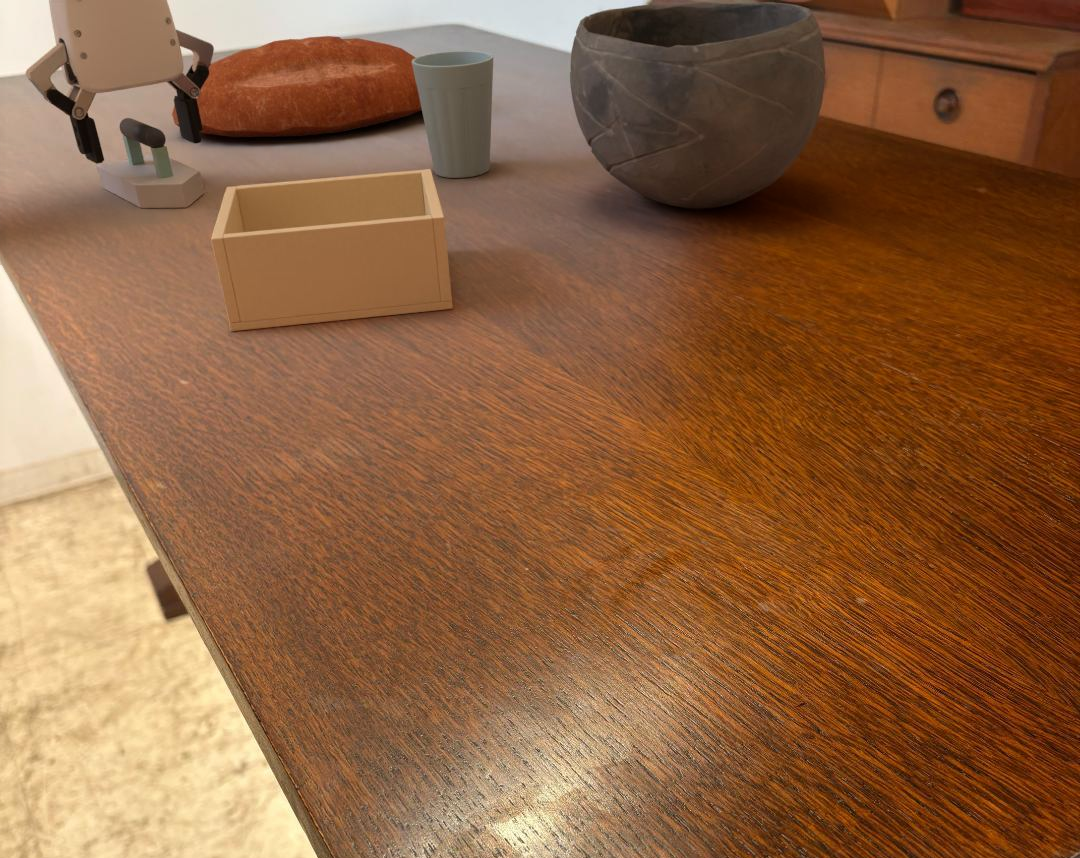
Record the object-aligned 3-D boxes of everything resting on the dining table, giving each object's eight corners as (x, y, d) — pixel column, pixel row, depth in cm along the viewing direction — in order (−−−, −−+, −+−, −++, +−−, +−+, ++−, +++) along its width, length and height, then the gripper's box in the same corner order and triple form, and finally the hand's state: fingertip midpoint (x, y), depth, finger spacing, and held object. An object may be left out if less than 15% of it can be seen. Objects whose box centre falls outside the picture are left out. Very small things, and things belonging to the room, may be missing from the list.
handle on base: (101, 187, 108) (83, 119, 105) (163, 174, 112) (147, 108, 108) (153, 215, 100) (136, 142, 96) (218, 200, 103) (203, 128, 99)
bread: (469, 123, 125) (462, 39, 120) (185, 160, 116) (165, 71, 111) (419, 87, 142) (412, 13, 137) (170, 117, 134) (152, 39, 129)
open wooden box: (230, 331, 76) (210, 238, 72) (243, 270, 86) (226, 186, 82) (452, 309, 77) (444, 217, 74) (438, 251, 88) (430, 168, 84)
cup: (426, 162, 111) (415, 52, 105) (501, 158, 111) (494, 48, 105) (419, 183, 105) (407, 67, 99) (499, 179, 105) (491, 63, 99)
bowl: (561, 175, 105) (555, 3, 96) (776, 160, 106) (789, -11, 97) (588, 245, 87) (585, 43, 79) (845, 227, 88) (868, 25, 80)
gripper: (173, -63, 101) (211, 128, 111) (-19, -44, 93) (41, 161, 102) (207, -60, 96) (244, 140, 106) (8, -39, 88) (68, 176, 97)
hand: (144, 150), depth 104 cm, fingers open, 9 cm apart
